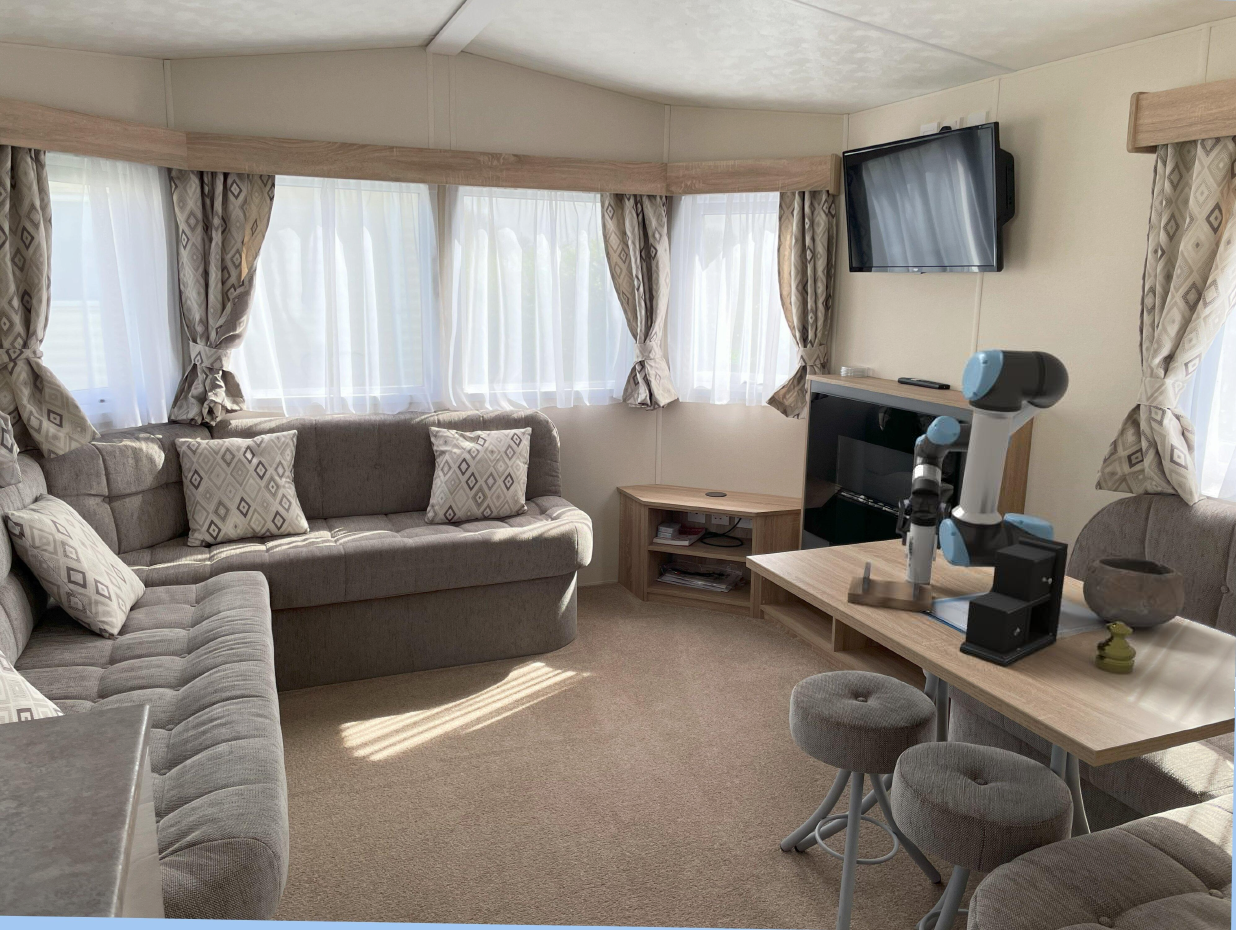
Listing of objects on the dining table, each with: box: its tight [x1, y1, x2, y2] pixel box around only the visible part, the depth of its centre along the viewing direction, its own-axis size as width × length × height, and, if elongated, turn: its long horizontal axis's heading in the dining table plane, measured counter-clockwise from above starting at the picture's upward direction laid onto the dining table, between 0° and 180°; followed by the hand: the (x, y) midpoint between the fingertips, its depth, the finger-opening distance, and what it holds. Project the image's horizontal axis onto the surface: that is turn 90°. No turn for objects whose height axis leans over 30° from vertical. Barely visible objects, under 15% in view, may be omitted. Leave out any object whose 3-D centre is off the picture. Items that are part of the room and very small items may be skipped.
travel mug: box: [905, 509, 937, 586], centre depth 242 cm, size 6×7×20 cm
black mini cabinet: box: [958, 534, 1069, 668], centre depth 199 cm, size 23×11×24 cm, turn 129°
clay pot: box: [1082, 556, 1186, 628], centre depth 217 cm, size 21×21×15 cm
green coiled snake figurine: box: [1094, 622, 1137, 675], centre depth 191 cm, size 7×7×10 cm
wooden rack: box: [847, 561, 933, 612], centre depth 231 cm, size 20×14×7 cm
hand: (920, 557), depth 239 cm, fingers closed on travel mug, 6 cm apart
